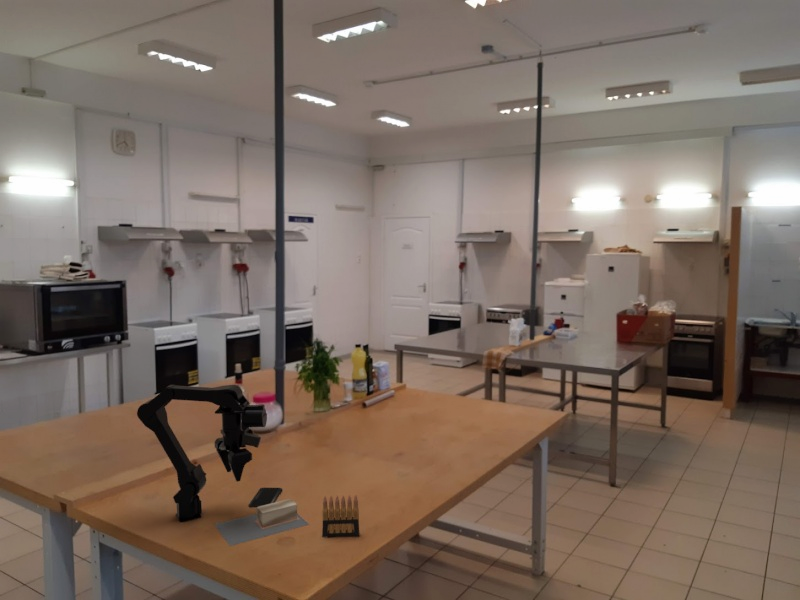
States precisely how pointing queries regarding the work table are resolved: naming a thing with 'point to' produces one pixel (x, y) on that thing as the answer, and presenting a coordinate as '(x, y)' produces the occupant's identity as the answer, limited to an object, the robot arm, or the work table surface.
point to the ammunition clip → (340, 518)
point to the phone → (265, 496)
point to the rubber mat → (253, 528)
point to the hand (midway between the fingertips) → (233, 476)
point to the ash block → (276, 512)
